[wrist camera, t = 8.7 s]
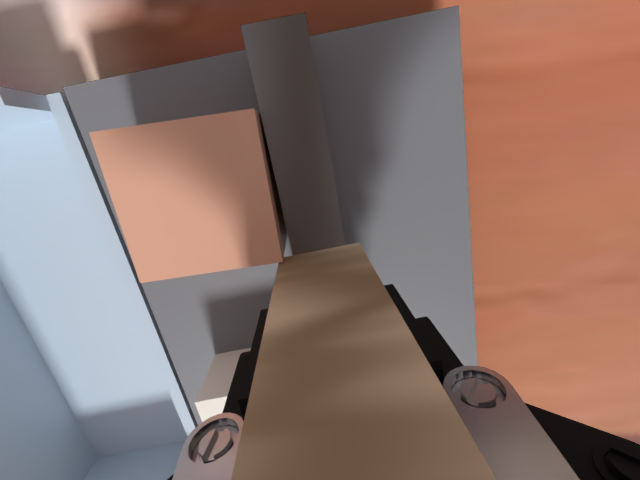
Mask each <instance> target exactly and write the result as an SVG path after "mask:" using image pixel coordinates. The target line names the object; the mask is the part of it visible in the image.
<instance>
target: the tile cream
mask: <svg viewBox="0 0 640 480" xmlns="http://www.w3.org/2000/svg"><path fill="white" fill-rule="evenodd" d="M250 350H251V348H246V349H241V350H235V351H230V352H225V353H220V354H215V356H214V359H213V361H212V363H211V366H210V368H209V370H208V373H207V375H206V377H205V380H204V382H203V384H202V386H201V389H200V391H199V393H198V396H197V398H196V400H195V405H196V408H197V410H198V413H199V415H200V418H201V420H202V422H203V421H205V420H207V419H208V418H210V417H212V416H215V415H217V414H221V413H222V412H223V409H224V406H225V402H226V399H227V396H228V393H229V389H230V386H231V383H232V379H233V376H234V373H235V369H236V366H237V363H238V360H239V357H240V354H241V353H243V352H248V351H250Z"/></svg>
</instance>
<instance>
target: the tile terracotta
mask: <svg viewBox="0 0 640 480" xmlns="http://www.w3.org/2000/svg"><path fill="white" fill-rule="evenodd" d="M89 134H90V137H91V140H92V143H93V146H94V149H95V152H96V155H97V158H98V161H99V164H100V167H101V170H102V172H103V175H104V178H105V181H106V184H107V187H108V190H109V193H110V196H111V199H112V202H113V205H114V208H115V211H116V214H117V217H118V220H119V223H120V226H121V229H122V231H123V234H124V237H125V240H126V243H127V246H128V249H129V252H130V255H131V258H132V261H133V264H134V267H135V270H136V273H137V276H138V279H139V282H140V283H145V282H152V281H158V280H165V279H172V278H179V277H185V276H192V275H199V274H205V273H212V272H219V271H226V270H232V269H239V268H246V267H252V266H259V265H266V264H272V263H279V262H283V258H284V252H285V247H286V241H287V235H286V229H285V223H284V218H283V212H282V207H281V201H280V197H279V193H278V188H277V184H276V179H275V175H274V171H273V166H272V162H271V158H270V153H269V149H268V144H267V140H266V136H265V131H264V127H263V122H262V118H261V114H260V113H259V112H258V111H257V110H255V109H254V108H253V109H246V110H239V111H232V112H226V113H219V114H212V115H205V116H198V117H191V118H184V119H177V120H170V121H163V122H157V123H150V124H143V125H136V126H129V127H122V128H115V129H108V130H101V131H94V132H89Z"/></svg>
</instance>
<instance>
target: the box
mask: <svg viewBox="0 0 640 480" xmlns="http://www.w3.org/2000/svg"><path fill="white" fill-rule="evenodd" d="M197 426H198V424H197V422H196V419H195V417H194V414H193V412H192V409H191V407H190V404H189V402H188V399H187V397H186V394H185V392H184V389H183V387H182V384H181V382H180V379H179V377H178V374H177V372H176V369H175V367H174V364H173V362H172V359H171V357H170V354H169V352H168V349H167V347H166V344H165V342H164V339H163V337H162V334H161V332H160V329H159V327H158V324H157V322H156V319H155V317H154V314H153V312H152V309H151V307H150V304H149V302H148V299H147V297H146V294H145V292H144V289H143V287H142V284H141V283H140V282H139V279H138V276H137V273H136V270H135V267H134V264H133V262H132V259H131V257H130V254H129V252H128V249H127V247H126V244H125V242H124V239H123V237H122V234H121V232H120V229H119V227H118V224H117V222H116V219H115V217H114V214H113V212H112V209H111V207H110V204H109V202H108V199H107V197H106V194H105V192H104V189H103V187H102V184H101V182H100V179H99V177H98V174H97V172H96V169H95V167H94V164H93V162H92V159H91V157H90V154H89V152H88V149H87V147H86V144H85V142H84V139H83V137H82V134H81V132H80V129H79V127H78V124H77V122H76V119H75V117H74V114H73V112H72V109H71V107H70V104H69V102H68V99H67V97H66V94H65V93H61V92H58V93H53V94H48V95H41V94H36V93H31V92H26V91H21V90H15V89H10V88H5V87H0V480H167V479H168V478H169V477H170V476H172V475H173V474H174V472H175V469H176V466H177V462H178V459H179V456H180V453H181V449H182V447H183V445H184V442H185V440H186V438H187V437H188V436H189V435H190V433H191V432H192V431H193V430H194V429H195V428H196V427H197Z"/></svg>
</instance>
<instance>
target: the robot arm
mask: <svg viewBox="0 0 640 480" xmlns="http://www.w3.org/2000/svg"><path fill="white" fill-rule="evenodd" d="M384 286H385V288H386V290H387V292H388V293H389V295H390V297H391V299H392V300H393V302H394V304H395V305H396V307H397V309H398V311H399V312H400V314H401V316H402V317H403V319H404V321H405V323H406V324H407V326H408V328H409V330H410V331H411V333H412V335H413V336H414V338H415V340H416V342H417V343H418V345H419V347H420V348H421V350H422V352H423V354H424V355H425V357H426V359H427V361H428V362H429V364H430V366H431V367H432V369H433V371H434V373H435V374H436V376H437V378H438V379H439V381H440V383H441V385H442V386H443V388H444V390H445V392H446V393H447V395H448V397H449V398H450V400H451V402H452V404H453V405H454V407H455V409H456V411H457V412H458V414H459V416H460V417H461V419H462V421H463V423H464V424H465V426H466V428H467V429H468V431H469V433H470V435H471V436H472V438H473V440H474V442H475V443H476V445H477V447H478V448H479V450H480V452H481V454H482V455H483V457H484V459H485V460H486V462H487V464H488V466H489V467H490V469H491V471H492V473H493V474H494V476H495V478H496V479H497V480H640V445H639V444H637V443H635V442H632V441H629V440H627V439H624V438H621V437H618V436H615V435H613V434H610V433H607V432H604V431H601V430H599V429H596V428H593V427H590V426H588V425H585V424H582V423H579V422H576V421H574V420H571V419H568V418H565V417H562V416H560V415H557V414H554V413H551V412H549V411H546V410H543V409H540V408H537V407H535V406H532V405H529V404H526V403H524V402H523V400H522V399H521V397H520V396H519V395H518V393H517V392H516V391H515V389H514V388H513V386H512V385H511V384H510V383H509V382H508V381H507V380H506V379H505V378H504V377H503V376H502V375H500V374H499V373H497V372H495V371H493V370H490V369H488V368H485V367H480V366H464V365H463V364H462V363H461V361H460V360H459V359H458V357H457V356H456V355H455V353H454V352H453V350H452V349H451V348H450V346H449V345H448V344H447V342H446V341H445V339H444V338H443V337H442V335H441V334H440V333H439V331H438V330H437V328H436V327H435V326H434V324H433V323H432V322H431V320H430V319H429V318H428V317H426V316H425V317H420V318H415V317H414V316H413V314H412V313H411V311H410V309H409V308H408V306H407V305H406V303H405V302H404V300H403V299H402V297H401V296H400V294H399V293H398V291H397V289H396V288H395V286H394V285H393V284H388V285H384ZM268 309H269V308H267V309H262V310H261V311H260V315H259V319H258V323H257V327H256V331H255V335H254V338H253V342H252V346H251V350H250V351H248V352H243V353H241V354H240V357H239V360H238V363H237V366H236V369H235V373H234V376H233V379H232V383H231V386H230V389H229V393H228V396H227V399H226V402H225V406H224V409H223V412H222V413H221V414H217V415H215V416H212V417H210V418H208V419H207V420H205V421H203V422H202V423H200V424H199V425H198V426H197V427H196V428H195V429H194V430H193V431H192V432H191V433H190V435H189V436H188V437H187V438H186V440H185V442H184V445H183V447H182V449H181V453H180V456H179V459H178V462H177V466H176V469H175V472H174V474H173V475H172V476H170V477H169V478H168V479H167V480H231V477H232V473H233V468H234V464H235V459H236V454H237V450H238V445H239V441H240V436H241V432H242V427H243V423H244V418H245V413H246V409H247V404H248V400H249V395H250V391H251V386H252V382H253V377H254V372H255V368H256V363H257V359H258V354H259V350H260V345H261V341H262V336H263V331H264V327H265V322H266V318H267V313H268Z"/></svg>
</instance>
